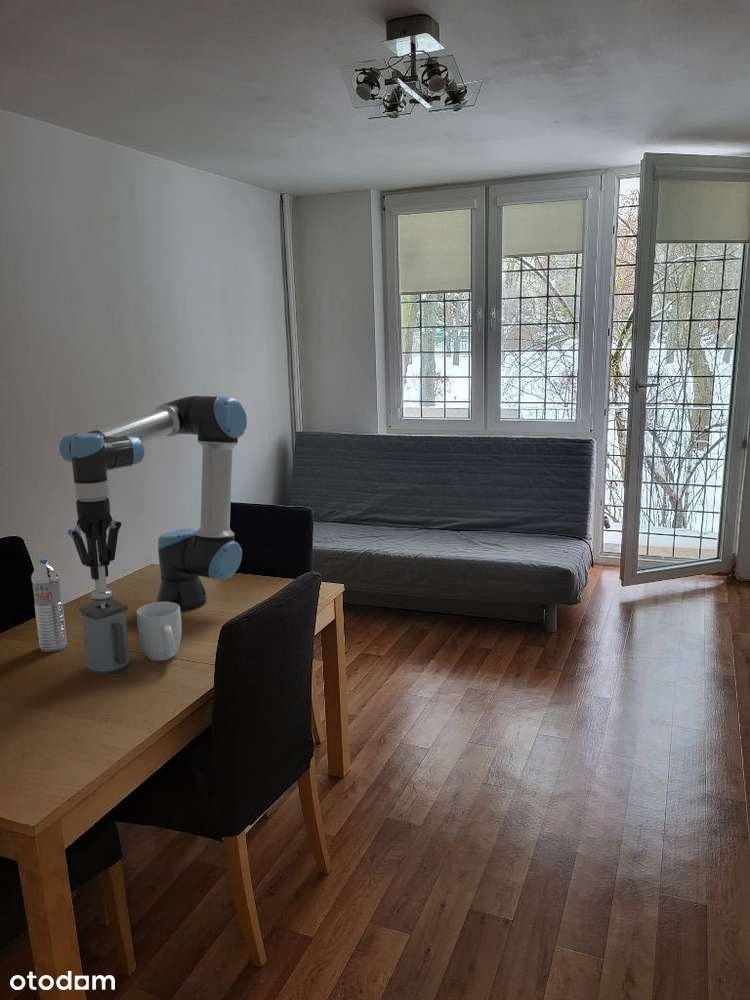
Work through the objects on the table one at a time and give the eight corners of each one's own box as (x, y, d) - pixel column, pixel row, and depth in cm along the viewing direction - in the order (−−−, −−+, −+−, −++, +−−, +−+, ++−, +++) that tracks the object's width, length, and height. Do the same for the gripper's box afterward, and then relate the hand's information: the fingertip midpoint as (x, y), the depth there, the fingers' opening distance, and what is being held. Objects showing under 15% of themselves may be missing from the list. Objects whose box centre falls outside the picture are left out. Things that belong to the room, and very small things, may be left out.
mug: (194, 663, 188) (191, 615, 185) (152, 674, 182) (147, 625, 179) (175, 643, 200) (172, 598, 197) (134, 653, 194) (130, 607, 192)
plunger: (112, 643, 190) (106, 585, 187) (124, 650, 187) (119, 590, 183) (90, 651, 186) (84, 591, 182) (102, 658, 182) (96, 597, 179)
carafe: (116, 654, 194) (111, 596, 190) (142, 667, 186) (136, 607, 182) (80, 667, 187) (74, 607, 183) (105, 681, 179) (99, 619, 175)
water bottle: (72, 644, 200) (63, 557, 195) (52, 654, 194) (42, 564, 188) (54, 640, 203) (44, 554, 197) (34, 650, 197) (23, 561, 191)
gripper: (109, 491, 184) (117, 580, 190) (58, 500, 175) (68, 594, 180) (125, 495, 180) (133, 587, 185) (74, 505, 170) (83, 601, 175)
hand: (101, 590), depth 182 cm, fingers closed
